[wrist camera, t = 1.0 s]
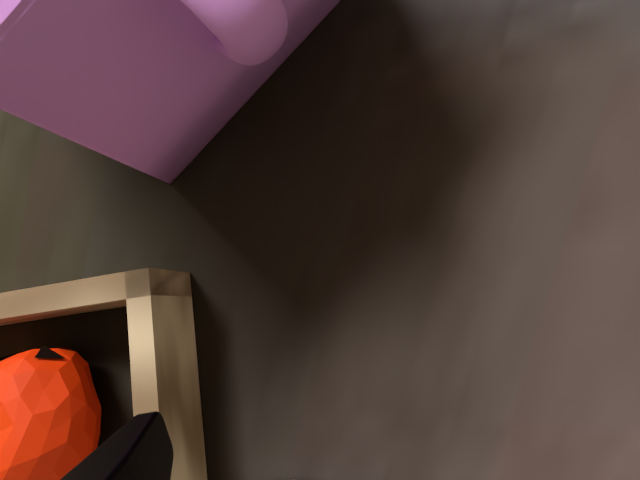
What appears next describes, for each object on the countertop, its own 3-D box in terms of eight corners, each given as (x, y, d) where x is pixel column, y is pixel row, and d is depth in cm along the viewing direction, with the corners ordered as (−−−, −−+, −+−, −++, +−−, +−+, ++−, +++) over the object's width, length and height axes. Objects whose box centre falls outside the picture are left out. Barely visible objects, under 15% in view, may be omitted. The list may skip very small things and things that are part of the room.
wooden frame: (211, 529, 22) (169, 570, 18) (-60, 537, 25) (-136, 573, 22) (189, 272, 24) (148, 267, 20) (-59, 313, 27) (-129, 315, 24)
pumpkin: (-7, 403, 26) (-147, 417, 20) (99, 322, 25) (-17, 311, 20) (31, 531, 24) (-118, 589, 18) (150, 446, 23) (35, 477, 17)
